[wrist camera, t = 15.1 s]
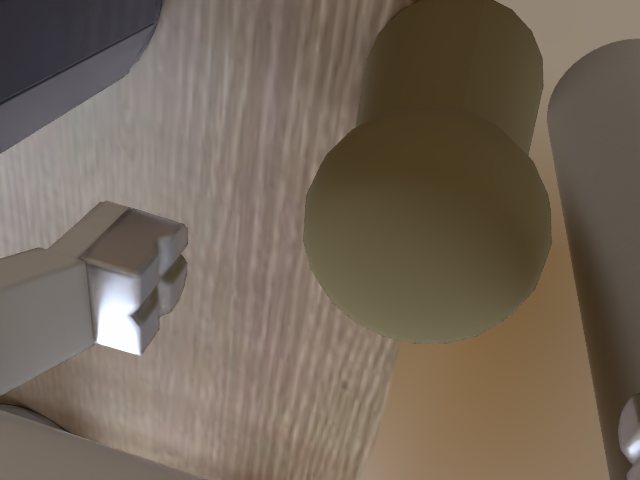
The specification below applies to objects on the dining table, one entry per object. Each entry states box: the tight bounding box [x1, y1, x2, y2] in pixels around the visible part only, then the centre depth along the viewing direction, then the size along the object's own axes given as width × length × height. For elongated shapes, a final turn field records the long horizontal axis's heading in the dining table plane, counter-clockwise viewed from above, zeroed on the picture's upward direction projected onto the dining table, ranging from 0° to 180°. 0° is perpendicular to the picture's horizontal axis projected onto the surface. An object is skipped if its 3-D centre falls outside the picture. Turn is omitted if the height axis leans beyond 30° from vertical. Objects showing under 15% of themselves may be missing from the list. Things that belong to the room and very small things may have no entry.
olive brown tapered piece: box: [303, 0, 552, 344], centre depth 15 cm, size 6×6×11 cm
